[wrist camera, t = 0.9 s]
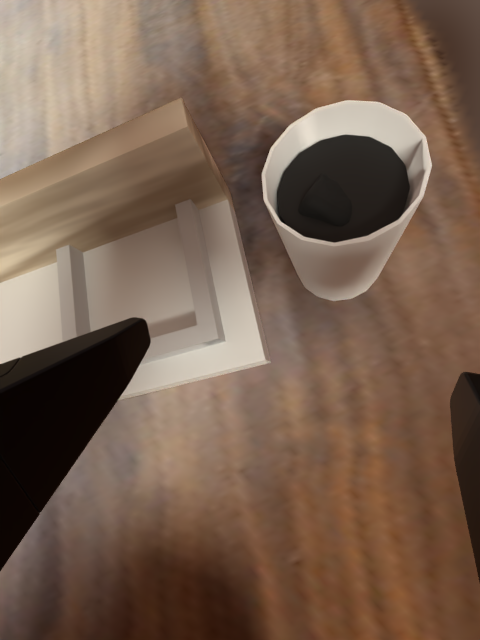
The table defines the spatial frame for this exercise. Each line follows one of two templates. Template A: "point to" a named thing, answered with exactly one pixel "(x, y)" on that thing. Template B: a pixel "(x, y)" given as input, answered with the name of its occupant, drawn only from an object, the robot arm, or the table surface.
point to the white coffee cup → (345, 192)
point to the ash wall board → (106, 189)
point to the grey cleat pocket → (148, 299)
